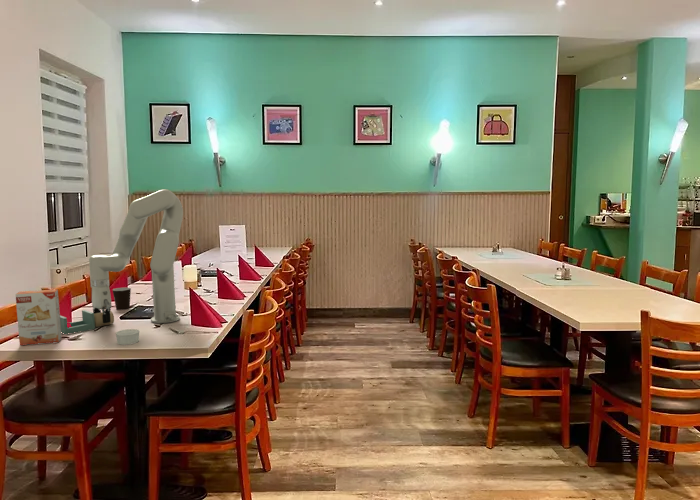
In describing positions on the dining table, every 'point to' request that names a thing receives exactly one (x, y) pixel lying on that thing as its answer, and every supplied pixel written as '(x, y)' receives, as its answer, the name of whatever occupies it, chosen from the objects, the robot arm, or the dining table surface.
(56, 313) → the cracker box
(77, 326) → the roll holder
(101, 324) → the paper roll
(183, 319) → the dining table surface
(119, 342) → the ramekin
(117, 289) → the coffee mug
